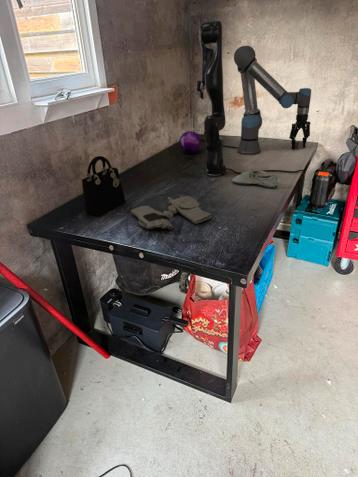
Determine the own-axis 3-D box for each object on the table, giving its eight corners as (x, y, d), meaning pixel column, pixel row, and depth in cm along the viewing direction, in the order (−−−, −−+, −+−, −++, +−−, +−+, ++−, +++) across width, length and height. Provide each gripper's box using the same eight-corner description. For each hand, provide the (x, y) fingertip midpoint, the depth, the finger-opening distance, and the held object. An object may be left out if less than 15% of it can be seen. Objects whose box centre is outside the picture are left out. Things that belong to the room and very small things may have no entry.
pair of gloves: (147, 237, 131) (146, 225, 129) (129, 213, 152) (128, 202, 149) (214, 220, 141) (214, 209, 138) (188, 199, 162) (188, 189, 159)
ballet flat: (235, 178, 184) (236, 165, 180) (279, 184, 173) (281, 170, 169) (230, 183, 177) (230, 169, 173) (275, 190, 166) (276, 175, 163)
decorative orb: (204, 151, 235) (204, 129, 228) (194, 156, 225) (193, 134, 217) (186, 149, 243) (186, 128, 235) (175, 154, 232) (174, 132, 224)
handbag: (98, 217, 149) (87, 164, 137) (84, 214, 154) (72, 161, 141) (127, 201, 164) (120, 151, 152) (113, 198, 169) (105, 149, 156)
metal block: (298, 147, 233) (299, 141, 230) (302, 148, 229) (303, 142, 227) (293, 148, 231) (294, 141, 229) (297, 149, 228) (298, 143, 226)
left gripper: (216, 67, 200) (215, 96, 209) (194, 69, 196) (195, 98, 204) (221, 68, 194) (221, 97, 202) (199, 69, 190) (200, 100, 198)
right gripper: (311, 111, 225) (306, 144, 236) (285, 114, 219) (282, 148, 230) (319, 112, 219) (314, 147, 230) (293, 116, 213) (289, 151, 224)
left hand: (208, 98), depth 203 cm, fingers open, 8 cm apart
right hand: (298, 147), depth 230 cm, fingers open, 8 cm apart
